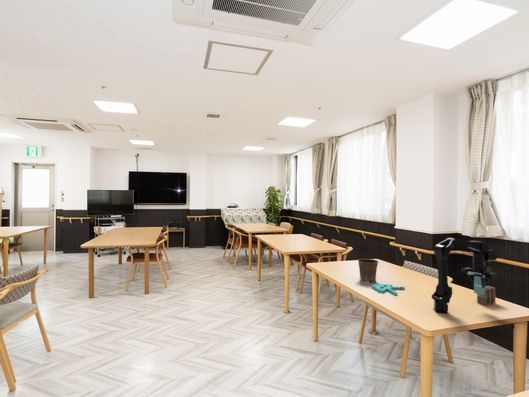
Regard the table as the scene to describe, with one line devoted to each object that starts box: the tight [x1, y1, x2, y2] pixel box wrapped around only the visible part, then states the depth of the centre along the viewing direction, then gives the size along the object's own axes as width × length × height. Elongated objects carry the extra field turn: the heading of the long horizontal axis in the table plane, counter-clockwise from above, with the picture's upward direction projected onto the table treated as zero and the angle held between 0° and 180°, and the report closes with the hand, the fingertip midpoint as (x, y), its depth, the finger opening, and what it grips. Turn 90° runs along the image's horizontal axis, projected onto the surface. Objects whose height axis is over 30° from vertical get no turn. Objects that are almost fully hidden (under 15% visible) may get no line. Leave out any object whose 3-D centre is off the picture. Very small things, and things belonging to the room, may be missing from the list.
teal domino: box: [473, 276, 484, 295], centre depth 192 cm, size 2×5×10 cm, turn 20°
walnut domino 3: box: [485, 285, 496, 305], centre depth 205 cm, size 2×5×10 cm, turn 21°
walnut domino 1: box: [476, 288, 488, 306], centre depth 202 cm, size 2×5×10 cm, turn 21°
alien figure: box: [371, 283, 406, 296], centre depth 233 cm, size 20×2×20 cm
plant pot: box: [357, 258, 379, 282], centre depth 260 cm, size 16×16×16 cm
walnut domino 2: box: [485, 287, 492, 305], centre depth 203 cm, size 2×5×10 cm, turn 21°
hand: (479, 287), depth 192 cm, fingers closed on teal domino, 5 cm apart
